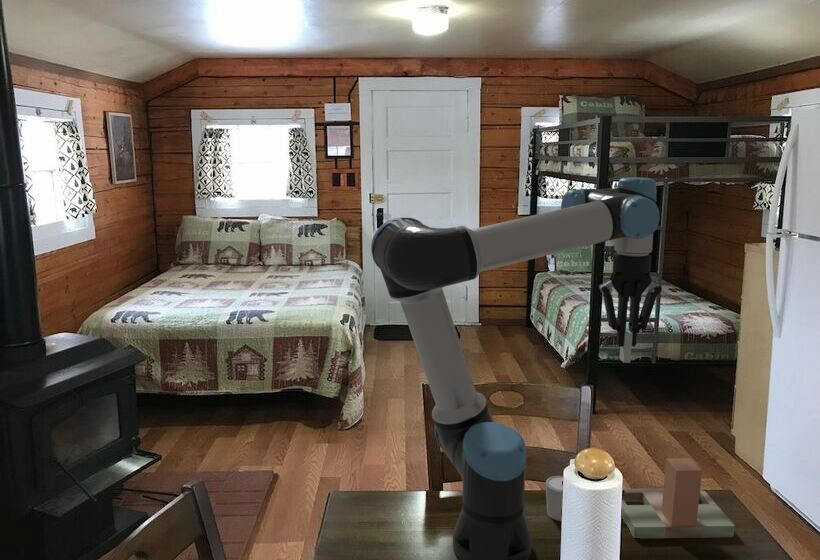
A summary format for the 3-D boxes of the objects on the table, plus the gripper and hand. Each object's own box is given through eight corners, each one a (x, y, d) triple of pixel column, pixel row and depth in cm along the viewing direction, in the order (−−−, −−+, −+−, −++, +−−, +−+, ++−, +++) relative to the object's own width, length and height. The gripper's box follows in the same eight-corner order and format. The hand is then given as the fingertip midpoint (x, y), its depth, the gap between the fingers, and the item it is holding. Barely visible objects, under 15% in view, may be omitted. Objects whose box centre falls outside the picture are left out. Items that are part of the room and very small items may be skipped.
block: (661, 512, 139) (666, 458, 136) (685, 512, 139) (690, 458, 136) (671, 526, 134) (676, 470, 131) (696, 525, 134) (702, 470, 132)
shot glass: (578, 524, 139) (579, 493, 138) (544, 520, 140) (545, 490, 139) (576, 506, 146) (578, 476, 144) (544, 503, 147) (545, 473, 146)
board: (610, 499, 148) (611, 489, 148) (701, 498, 149) (702, 487, 148) (633, 538, 134) (634, 527, 134) (733, 537, 135) (734, 525, 134)
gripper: (656, 249, 145) (648, 354, 150) (596, 249, 145) (589, 355, 150) (670, 255, 138) (661, 366, 143) (607, 256, 137) (600, 366, 143)
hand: (624, 360), depth 146 cm, fingers closed
